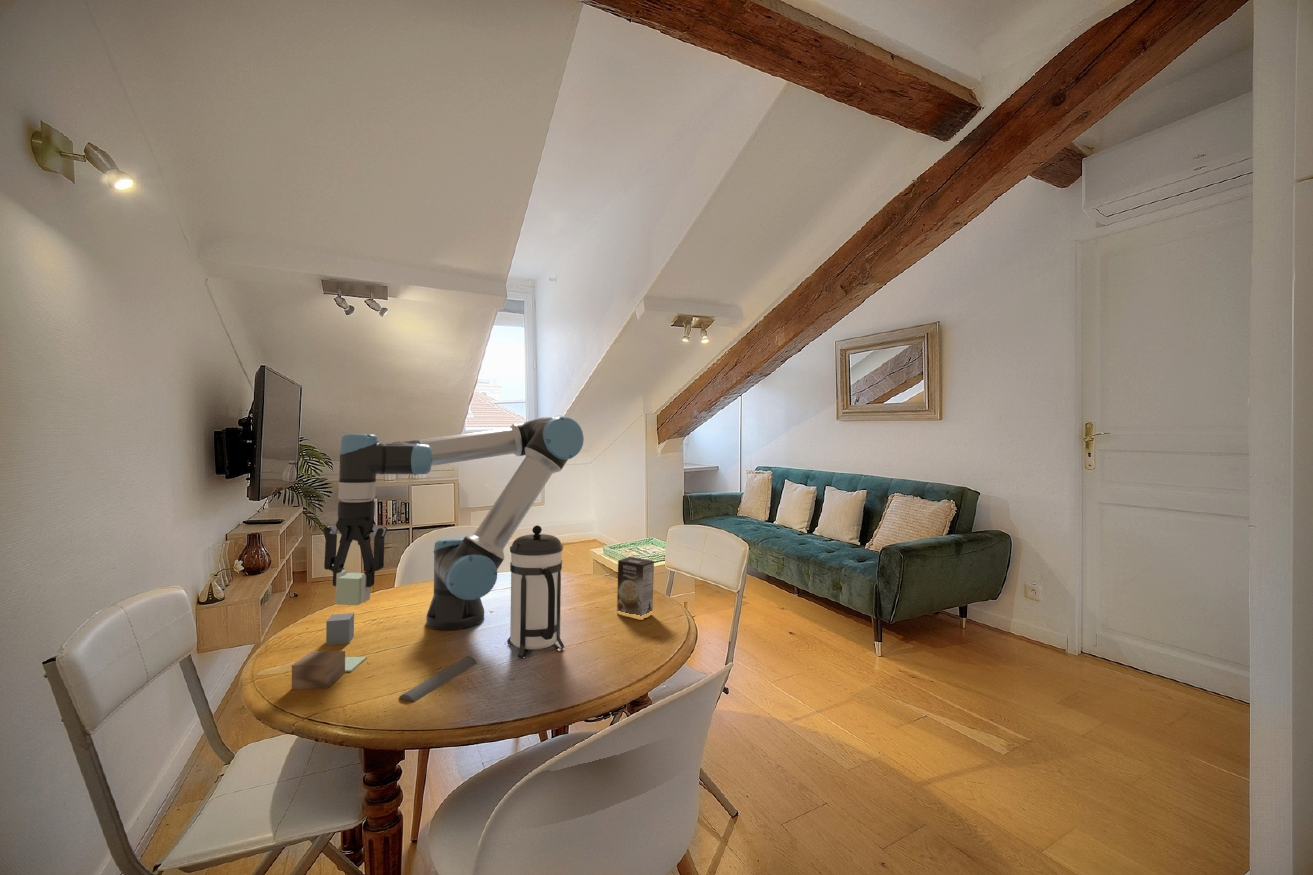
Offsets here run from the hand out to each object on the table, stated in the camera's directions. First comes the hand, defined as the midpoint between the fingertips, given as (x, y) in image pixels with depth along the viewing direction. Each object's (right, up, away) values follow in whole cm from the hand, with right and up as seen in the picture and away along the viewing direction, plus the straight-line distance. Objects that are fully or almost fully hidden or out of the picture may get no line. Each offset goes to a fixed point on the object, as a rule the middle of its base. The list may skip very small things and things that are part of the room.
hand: (352, 600), depth 125 cm
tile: (0, -13, -4) cm, 14 cm away
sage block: (0, 0, 0) cm, 0 cm away
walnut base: (0, -14, -12) cm, 18 cm away
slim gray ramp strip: (+25, -15, -10) cm, 30 cm away
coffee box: (+64, -14, +32) cm, 73 cm away
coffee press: (+42, -14, +7) cm, 44 cm away
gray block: (-9, -13, +10) cm, 19 cm away
